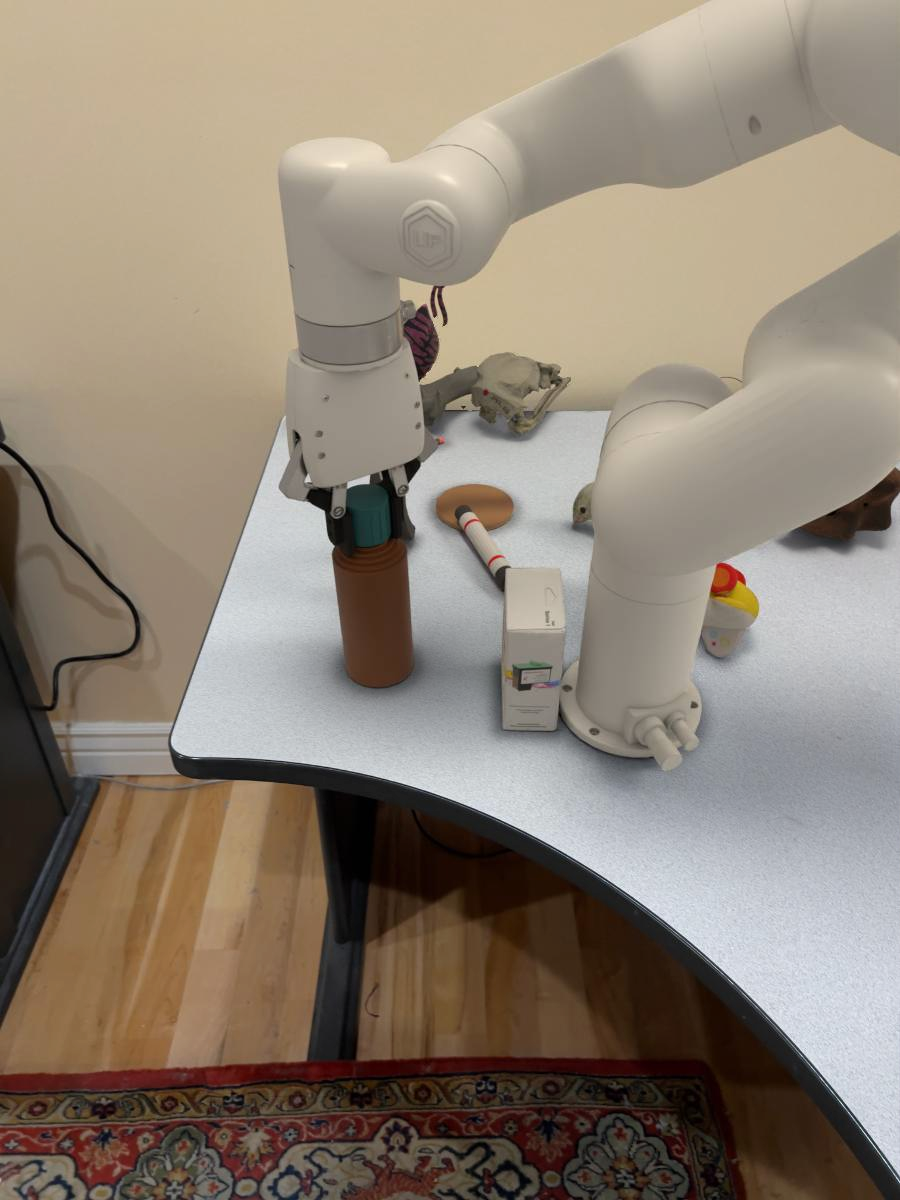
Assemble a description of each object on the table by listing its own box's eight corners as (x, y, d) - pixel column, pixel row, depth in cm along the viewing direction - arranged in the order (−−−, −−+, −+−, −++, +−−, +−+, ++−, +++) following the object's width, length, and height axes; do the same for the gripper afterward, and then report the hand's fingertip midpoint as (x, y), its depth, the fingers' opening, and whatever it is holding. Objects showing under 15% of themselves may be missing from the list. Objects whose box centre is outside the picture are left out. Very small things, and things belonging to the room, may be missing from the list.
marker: (454, 521, 104) (454, 506, 103) (470, 516, 105) (470, 502, 103) (510, 606, 94) (510, 592, 92) (527, 601, 94) (528, 587, 93)
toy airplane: (746, 666, 93) (612, 609, 99) (782, 585, 92) (644, 533, 98) (722, 662, 81) (572, 597, 87) (763, 569, 80) (609, 510, 87)
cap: (377, 515, 80) (374, 478, 77) (399, 537, 77) (396, 500, 75) (336, 529, 78) (332, 492, 76) (357, 552, 76) (353, 515, 73)
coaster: (525, 522, 105) (525, 518, 105) (450, 538, 103) (450, 533, 102) (496, 482, 112) (496, 478, 111) (425, 496, 109) (425, 491, 109)
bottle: (422, 677, 85) (413, 514, 74) (355, 694, 84) (335, 530, 73) (402, 634, 90) (391, 475, 79) (338, 650, 89) (317, 489, 77)
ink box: (499, 663, 87) (504, 563, 80) (552, 664, 87) (561, 564, 80) (500, 731, 81) (505, 629, 73) (557, 732, 80) (568, 630, 73)
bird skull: (578, 448, 117) (578, 373, 111) (467, 444, 120) (462, 372, 114) (595, 367, 136) (596, 300, 130) (498, 366, 139) (495, 300, 133)
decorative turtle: (947, 467, 96) (898, 430, 102) (819, 488, 92) (775, 449, 98) (917, 543, 102) (872, 505, 108) (795, 566, 99) (756, 525, 105)
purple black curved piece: (469, 305, 109) (504, 323, 127) (425, 253, 110) (466, 277, 128) (326, 447, 117) (378, 444, 135) (285, 397, 118) (342, 401, 136)
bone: (398, 380, 118) (395, 424, 122) (434, 398, 115) (430, 442, 118) (508, 346, 132) (502, 386, 136) (544, 360, 129) (537, 401, 132)
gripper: (422, 290, 72) (429, 490, 84) (220, 339, 66) (257, 548, 77) (475, 322, 67) (474, 529, 79) (262, 379, 61) (295, 596, 72)
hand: (367, 537), depth 78 cm, fingers closed on cap, 3 cm apart
